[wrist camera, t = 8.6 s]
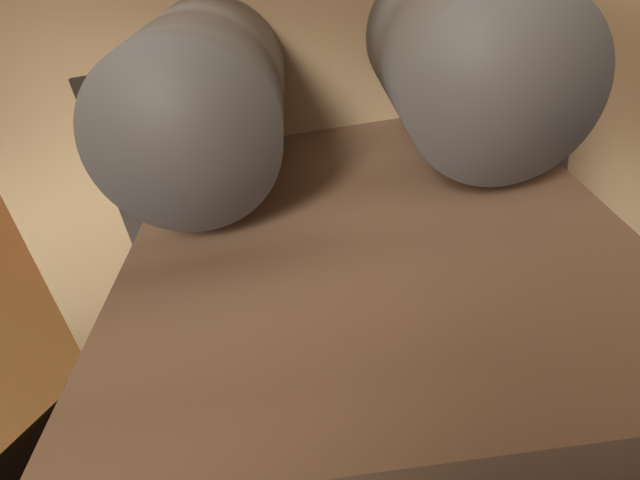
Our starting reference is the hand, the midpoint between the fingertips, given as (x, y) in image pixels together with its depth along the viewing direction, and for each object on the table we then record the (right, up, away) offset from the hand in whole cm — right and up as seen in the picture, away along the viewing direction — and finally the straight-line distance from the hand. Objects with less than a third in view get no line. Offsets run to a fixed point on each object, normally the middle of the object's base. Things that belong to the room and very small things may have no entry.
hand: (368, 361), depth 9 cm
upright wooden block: (0, +1, +1) cm, 2 cm away
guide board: (0, -1, +3) cm, 3 cm away
